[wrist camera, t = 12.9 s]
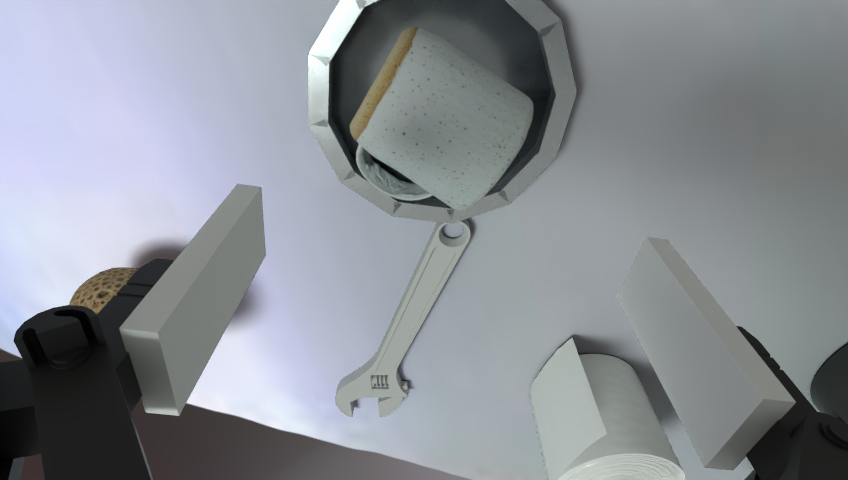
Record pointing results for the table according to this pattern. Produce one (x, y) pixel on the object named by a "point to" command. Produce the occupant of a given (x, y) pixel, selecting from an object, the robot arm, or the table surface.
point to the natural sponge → (101, 288)
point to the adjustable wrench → (404, 327)
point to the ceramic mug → (438, 123)
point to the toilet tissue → (598, 421)
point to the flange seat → (474, 36)
